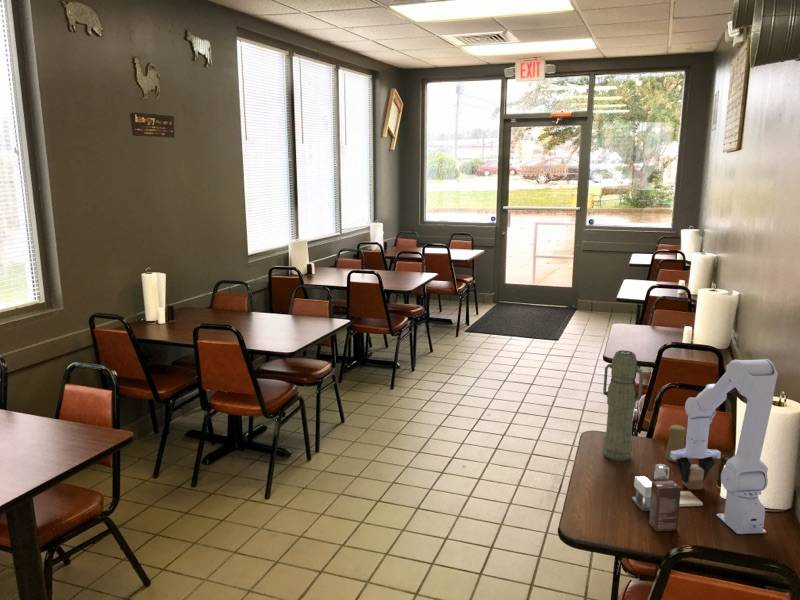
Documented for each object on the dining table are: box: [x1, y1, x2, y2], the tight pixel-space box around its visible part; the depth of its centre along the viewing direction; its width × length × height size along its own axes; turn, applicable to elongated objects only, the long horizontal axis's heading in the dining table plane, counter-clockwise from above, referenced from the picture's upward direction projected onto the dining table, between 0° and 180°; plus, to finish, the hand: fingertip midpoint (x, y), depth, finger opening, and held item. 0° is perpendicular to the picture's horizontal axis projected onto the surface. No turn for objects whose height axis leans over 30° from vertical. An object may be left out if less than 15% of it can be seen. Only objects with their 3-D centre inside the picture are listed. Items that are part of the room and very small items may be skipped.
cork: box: [664, 424, 687, 463], centre depth 208 cm, size 6×6×11 cm
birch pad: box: [679, 490, 704, 508], centre depth 181 cm, size 7×7×1 cm
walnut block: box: [681, 463, 704, 491], centre depth 189 cm, size 4×4×6 cm
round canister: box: [653, 463, 670, 481], centre depth 193 cm, size 4×4×4 cm
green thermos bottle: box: [602, 349, 645, 462], centre depth 207 cm, size 9×12×35 cm
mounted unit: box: [631, 475, 652, 512], centre depth 177 cm, size 6×4×7 cm, turn 5°
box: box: [648, 480, 682, 532], centre depth 165 cm, size 6×4×12 cm
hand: (692, 480), depth 189 cm, fingers open, 5 cm apart
